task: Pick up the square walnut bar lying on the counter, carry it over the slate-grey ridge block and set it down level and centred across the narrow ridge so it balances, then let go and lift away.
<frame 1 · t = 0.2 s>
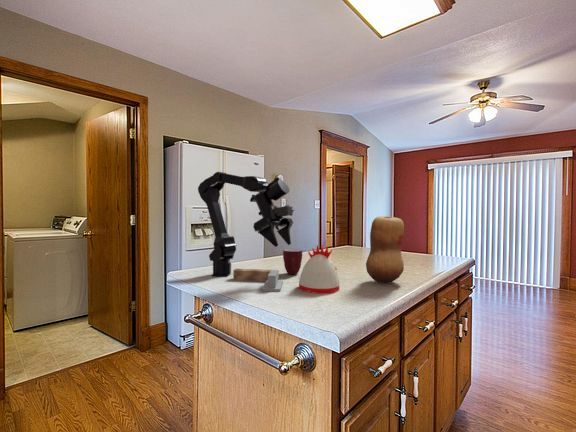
hand: (283, 245, 110), 14 cm above the worktop, tool tilted 30°, fingers open, 9 cm apart
kitchen timer: (319, 288, 107), on the worktop
ridge block: (273, 286, 108), on the worktop
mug: (292, 275, 128), on the worktop
walnut bar: (255, 280, 118), on the worktop
butternut squash: (384, 283, 116), on the worktop
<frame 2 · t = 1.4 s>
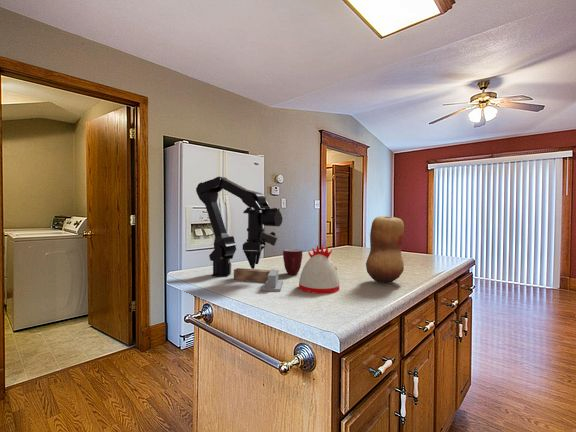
hand: (254, 266, 118), 5 cm above the worktop, tool pointing down, fingers open, 9 cm apart
nothing on the worktop moved.
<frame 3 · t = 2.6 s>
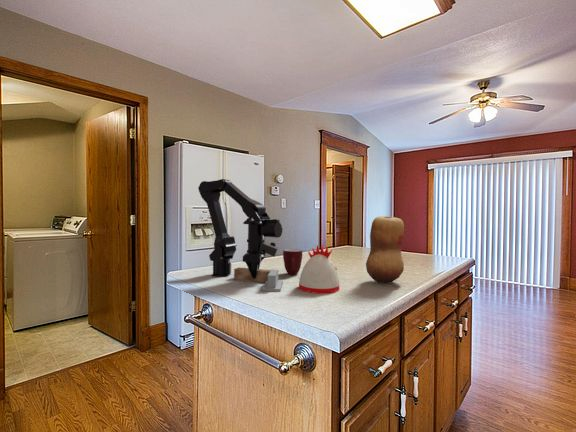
hand: (255, 277, 118), 1 cm above the worktop, tool pointing down, fingers closed on walnut bar, 4 cm apart
walnut bar: (255, 280, 118), on the worktop, touching gripper
everything else where it was.
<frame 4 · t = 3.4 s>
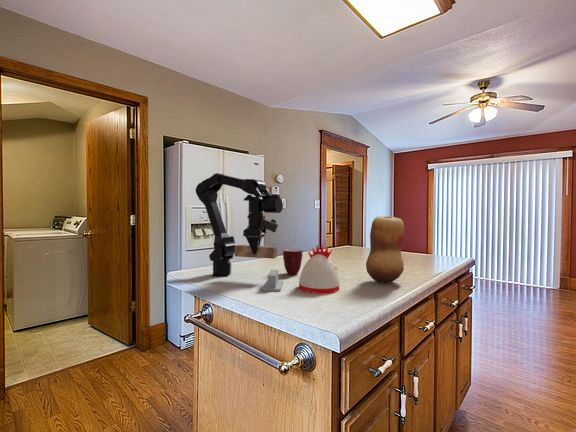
hand: (255, 253, 118), 10 cm above the worktop, tool pointing down, fingers closed on walnut bar, 4 cm apart
walnut bar: (255, 256, 118), point 9 cm above the worktop, touching gripper
everything else where it was.
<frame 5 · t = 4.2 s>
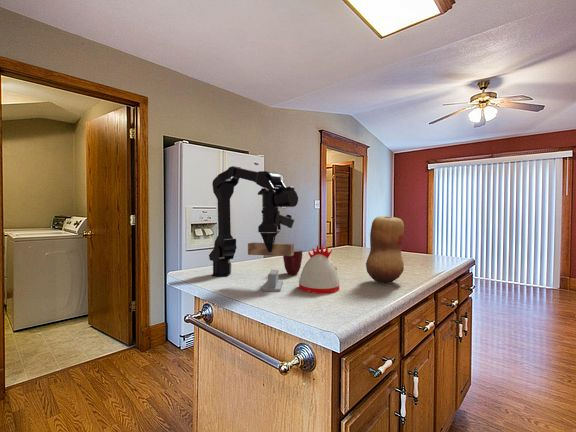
hand: (270, 251, 109), 12 cm above the worktop, tool pointing down, fingers closed on walnut bar, 4 cm apart
walnut bar: (270, 254, 109), point 11 cm above the worktop, touching gripper
everything else where it was.
when the fingers open (6 cm above the worktop, at t = 5.6 s): walnut bar stays where it is, resting on ridge block.
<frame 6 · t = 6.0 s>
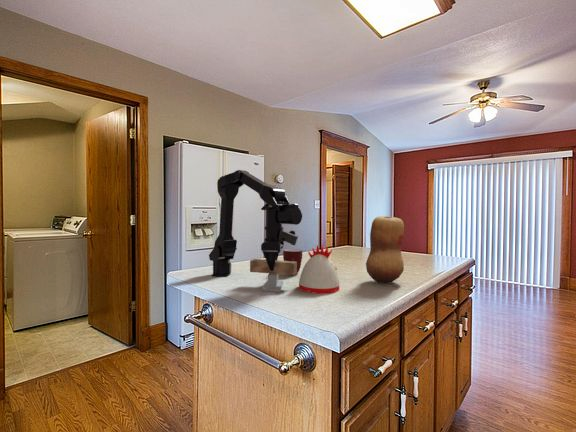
hand: (273, 268, 108), 6 cm above the worktop, tool pointing down, fingers open, 8 cm apart
walnut bar: (273, 272, 108), point 5 cm above the worktop, touching ridge block
everything else where it was.
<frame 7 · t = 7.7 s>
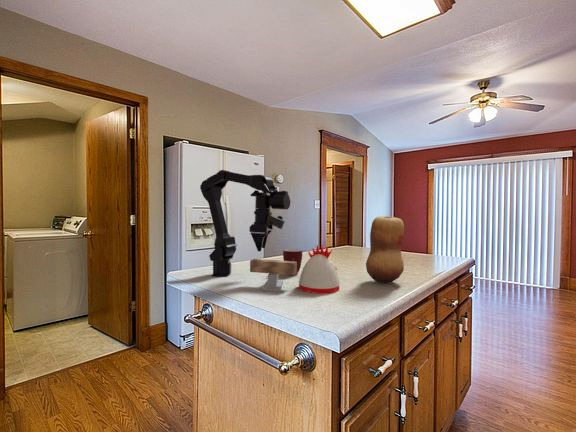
hand: (261, 249, 118), 12 cm above the worktop, tool pointing down, fingers open, 9 cm apart
nothing on the worktop moved.
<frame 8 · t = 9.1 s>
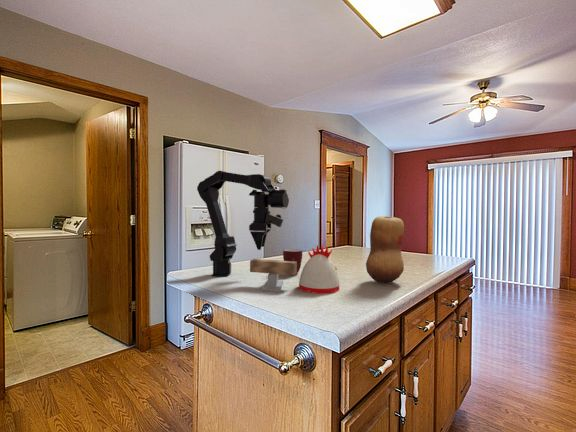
hand: (261, 248, 119), 12 cm above the worktop, tool pointing down, fingers open, 9 cm apart
nothing on the worktop moved.
at the end: walnut bar 0.0 cm off-centre on the ridge block, point 5.0 cm above the ridge block's base; walnut bar tilted 0°; walnut bar touching ridge block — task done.
